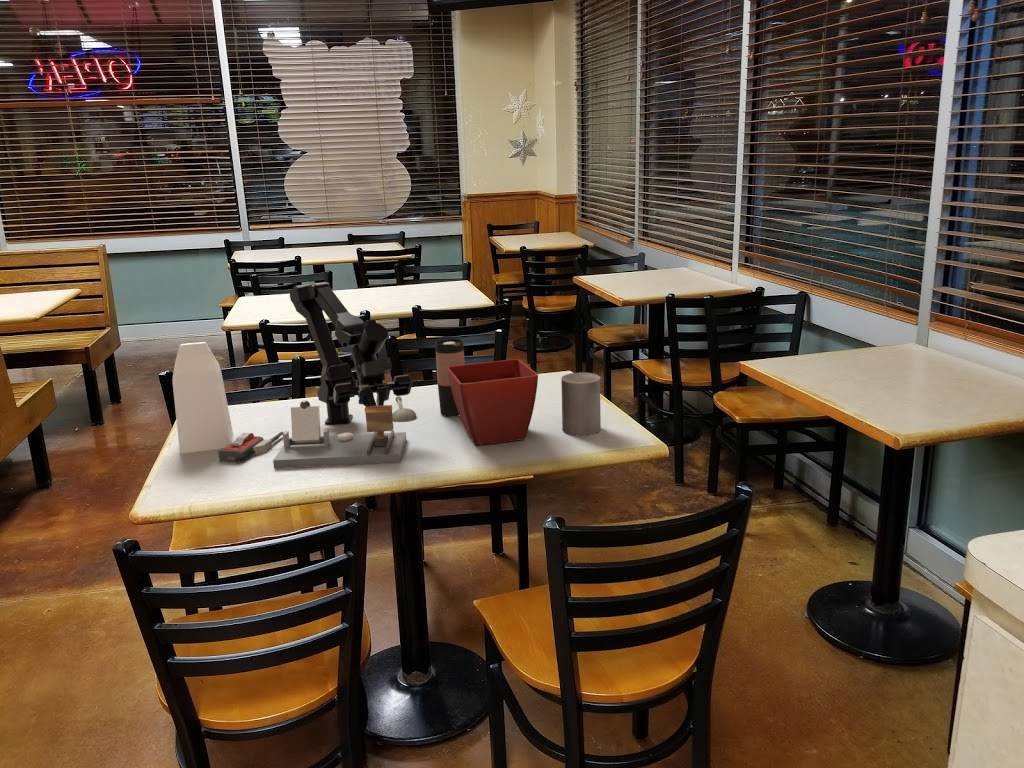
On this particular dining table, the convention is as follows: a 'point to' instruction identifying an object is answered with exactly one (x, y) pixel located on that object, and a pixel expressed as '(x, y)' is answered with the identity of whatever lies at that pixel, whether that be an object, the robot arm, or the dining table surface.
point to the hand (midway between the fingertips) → (380, 419)
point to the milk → (200, 400)
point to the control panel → (341, 450)
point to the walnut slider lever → (379, 422)
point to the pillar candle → (581, 404)
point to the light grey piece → (305, 425)
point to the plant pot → (494, 399)
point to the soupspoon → (403, 413)
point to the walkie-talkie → (245, 447)
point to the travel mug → (447, 355)
